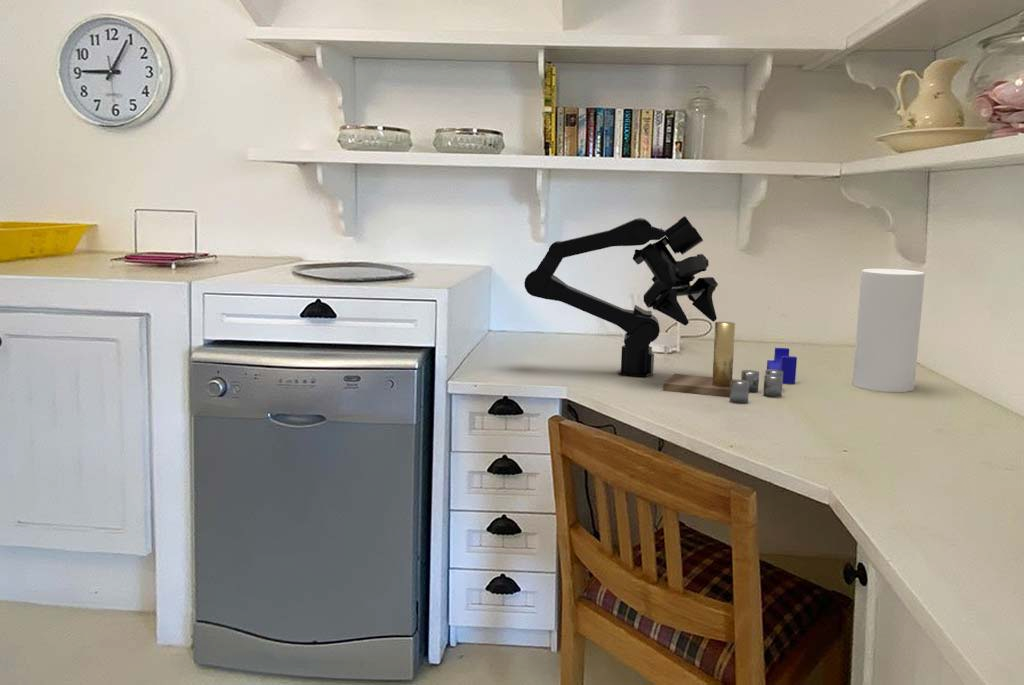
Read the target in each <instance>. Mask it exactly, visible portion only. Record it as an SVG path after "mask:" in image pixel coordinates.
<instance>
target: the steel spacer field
mask: <svg viewBox="0 0 1024 685" xmlns="http://www.w3.org/2000/svg"><path fill="white" fill-rule="evenodd" d="M740 377H741V378H740V379H738V380H731V386H730V397H729V402H730V403H734V404H748V403H749V395H750V394H749V393H758V392H759V382H760V371H757V370H753V369H752V370H751V369H746V370H744V369H743V370H741V376H740ZM763 378H764V379H763V393H762V394H763V396H764V397H768V398H781V397H782V394H783V371H782V370H777V369H767V368H766V369H765V374H764V376H763Z"/></svg>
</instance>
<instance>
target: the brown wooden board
mask: <svg viewBox="0 0 1024 685" xmlns="http://www.w3.org/2000/svg"><path fill="white" fill-rule="evenodd" d="M712 378H713V376H705V375H695V374H693V375H692V374H683V373H674V374H673V375H671V376H670V377H669V378H667V380H665V381H664V382H663V388H662V390H663V391H665V390H666V391H667V392H676V393H688V394H696V395H707V396H716V397H725V398H726V397H727V398H730V386H729V387H719V386H714V385H712ZM732 380H739V379H737V378H735V379H734V378H732Z"/></svg>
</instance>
